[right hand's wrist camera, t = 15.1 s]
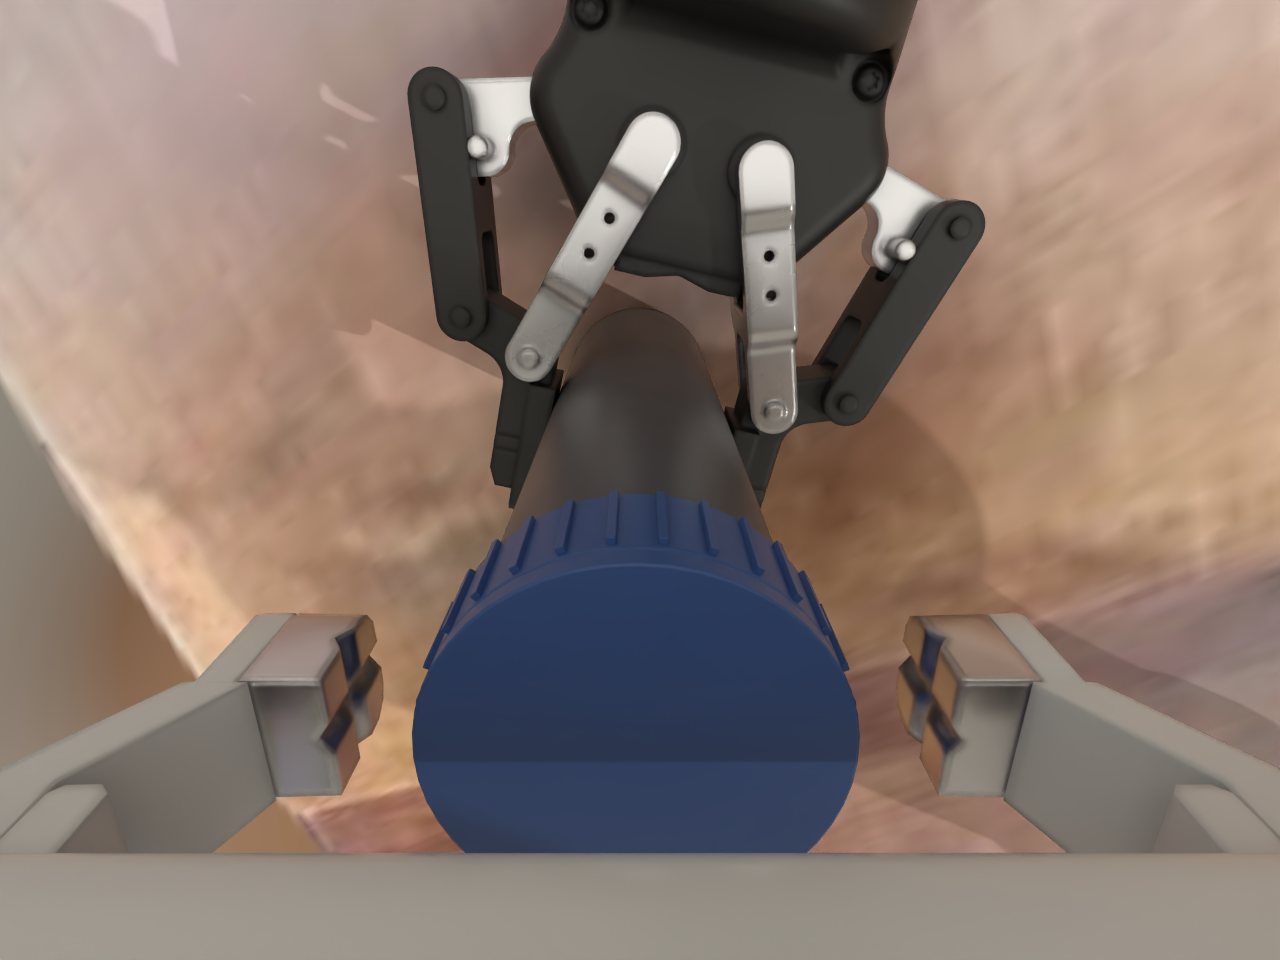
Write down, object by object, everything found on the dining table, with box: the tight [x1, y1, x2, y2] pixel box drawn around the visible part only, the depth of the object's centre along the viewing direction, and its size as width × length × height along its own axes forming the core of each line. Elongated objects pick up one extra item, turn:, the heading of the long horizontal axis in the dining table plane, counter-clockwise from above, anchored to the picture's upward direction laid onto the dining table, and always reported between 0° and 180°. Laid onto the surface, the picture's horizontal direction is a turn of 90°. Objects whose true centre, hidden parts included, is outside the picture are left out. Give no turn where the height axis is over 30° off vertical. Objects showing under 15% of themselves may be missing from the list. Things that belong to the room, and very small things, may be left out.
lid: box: [412, 490, 860, 853], centre depth 9 cm, size 5×5×2 cm
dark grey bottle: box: [501, 308, 773, 544], centre depth 18 cm, size 5×5×18 cm
